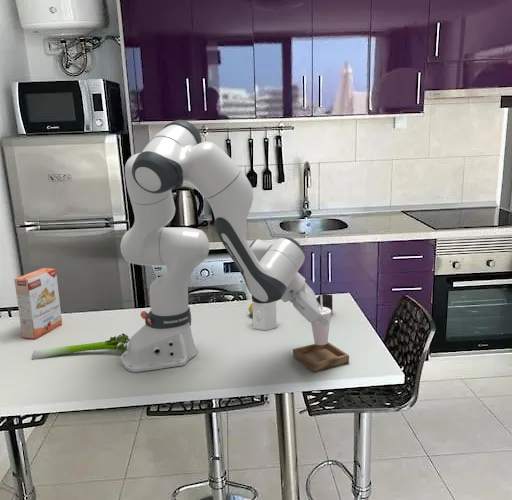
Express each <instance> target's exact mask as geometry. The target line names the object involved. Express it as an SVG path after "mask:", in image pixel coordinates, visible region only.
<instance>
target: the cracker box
mask: <svg viewBox="0 0 512 500" xmlns="http://www.w3.org/2000/svg"><path fill="white" fill-rule="evenodd" d="M13 281H14V286H15V293H16V300H17V308H18V314H19V315H18V316H19V323H20V329H21V336H22V338H23V339H31V340H36V339H38V338H40V337H42V336H44V335H46V334H48V333H50V332H51V331H53V330H55V329H56V327H57V328H58V326H59V327H60V326H62V325H63V320H62V312H61V310H62V309H61V302H60V301H61V300H60V294H59V285H58V276H57V269H56V268H51V267H50V268H49V267H42V268H39V269H37V270H35V271H32V272H29V273H26V274H23V275H20V276H19V277H16V278H14V280H13ZM54 328H55V329H54ZM45 333H46V334H45ZM43 334H44V335H43Z"/></svg>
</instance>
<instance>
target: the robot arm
mask: <svg viewBox="0 0 512 500" xmlns="http://www.w3.org/2000/svg"><path fill="white" fill-rule="evenodd" d="M124 176H125V177H124V178H125V185H126V189H127V193H128V196H129V200H130V204H131V207H132V212H133V215H134V217H133V218H134V222H133V224H132V227H131V228H130V229H128V230H127V231H126V232H125V233H124V234H123V236H122V237H121V241H120V246H119V247H120V253H121V256H122V258H123V259H124V260H125V261H126V262H127V263H128V264H129V263H130V264H133V265H138V266H145V267H147V266H166V269H167V271H166V273H165V274H163V275H161V276H159V277H157V278H156V279H154V280H153V281H152V282H151V284H150V286H149V288H148V289H149V290H148V291H149V303H150V310H149V312H148V313H147V311H146V310H143V311H141V313H140V317H141V318H142V319H143V320H144V323H145V324H144V325H143V326H142V327H141V328H139V330H137V332H135V333H134V334H133V335H131V336H130V337H129V340H130V341H129V342H128V344H127V346H128V347H127V350H126V351H124V353H121V357H120V362H121V364H122V366H123V368H125V370H127V371H129V372H132V373H140V372H148V371H153V370H154V371H155V370H159V369H166V368H168V369H169V368H174V367H175V368H176V367H180V366H185V365H187V363H188V362H189V360H191V359H192V358H194V357H195V356H196V355H197V353H198V349H197V347H196V344H195V340H194V336H193V333H192V327H191V325H192V313H191V308H190V307H189V281H190V279H191V276H192V274H193V272H194V271H195V269H196V268H197V267H198V266H199V265H200V264H201V263H203V262H204V261H205V260H206V258H207V257H208V255H209V252H210V241H209V238H208V236H207V234H206V233H205V231H203V230H202V229H198V228H193V227H187V226H185V227H184V226H183V227H180V226H179V227H166V226H167V225H168V224H169V223H170V222H171V221H172V220H173V219H174V216H175V214H176V204H175V201H174V196H173V193H172V190H176V189H180V188H181V187H182V186H183V184H184V182H185V181H186V182H189V183H191V184H193V185H194V186H195V187H196V188H197V190H198V191H199V192H200V194H202V196H203V197H204V198H205V199H206V201H207V202H208V204H209V205H210V208H211V211H212V213H213V217H214V229H215V232H216V234H217V236H218V237H219V239H220V241H221V243H222V245H223V247H224V248H225V250H226V251H227V253H228V255H229V256H230V258H231V260H232V262H233V263H234V265H235V267H236V268H237V270H238V271H239V273H240V274H241V276H242V278H243V280H244V283H245V285H246V287H247V290H248V292H249V294H250V295H251V297H252V296H253V297H255V298H256V299H257V300H259V301H261V302H264V303H269V302H275V301H276V302H277V301H278V302H279V301H280V300H281V301H282V302H283V303H287V302H290V303H291V304H292V306H293V307H294V309H296V311H297V312H298V313H299V314H300V315H301V316H302V317H304V318H305V319H306V320H307V321H308V322H309V323H310V324H311V323H314V322H315V321H316V320H317V321H319V322H320V323H322V324H323V325H324V326H326V325H327V324H328V323H329V320H328V319H327V318H326V317H325V316H323V315H322V314H321V313H320V310H319V307H321V305H320V304H319V303H318V302H317V300H316V298H317V297H316V293H315V292H314V290H313V289H312V288H311V287H310V285H309V284H308V283H307V282H306V278H305V277H304V276H303V275H302V274H301V273H299V270H300V268H301V267H302V265H303V264H304V262H305V260H306V253H305V249H304V248H303V247H302V245H301V244H300V243H299V242H298V241H297V240H296V239H294V238H292V237H288V236H287V237H286V236H281V237H278V238H277V239H275V240H269V241H264V240H262V239H260V238H259V239H258V238H257V239H254V240H253V241H252V242H251V244H249V243H248V241H247V239H246V224H247V219H248V217H249V213H250V210H251V208H252V205H253V199H254V191H253V190H254V189H253V186H252V184H251V182H250V181H249V178H248V177H247V176H246V175H245V173H244V171H242V170H241V168H240V167H239V166H238V165H237V163H235V160H233V159H232V158H231V157H230V156H229V154H227V153H226V152H225V150H223V149H222V148H221V147H220V146H218V145H217V144H216V143H214V142H211V141H202V136H201V133H200V132H199V130H198V128H197V127H196V126H195V125H194V124H193V123H191V122H189V121H188V120H185V119H184V120H183V119H176V120H173V121H171V122H168V124H166V125H165V126H163V128H162V129H161V130H160V131H158V132H157V133H156V134H154V136H153V137H152V138H151V139H150V140H149V142H148V143H147V144H146V145H145V147H144V148H143V150H142V151H141V152H138V153H135V154H133V155H131V156H129V157H128V159H127V161H126V163H125V166H124ZM329 324H330V323H329Z"/></svg>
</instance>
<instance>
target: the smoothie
mask: <svg viewBox="0 0 512 500" xmlns="http://www.w3.org/2000/svg"><path fill="white" fill-rule="evenodd" d="M319 295H320V294H319ZM320 300H321V307H319V310H320V313H321V314H322V315H323V316H325V317H326V318H327V319H328V320H329V323H328V324H327V325H326V326H324V325H323V324H322V323H320V322H319V321H317V320H316V321H315V322H314V323H311V322H310V324H311V331H312V336H313V342H314V344H317V345H325V344H327V343H328V342H329V331H330V322H331V315H332V314H331V309H329V308H327V307H323V300H322V295H320Z"/></svg>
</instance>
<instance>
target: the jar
mask: <svg viewBox="0 0 512 500" xmlns="http://www.w3.org/2000/svg"><path fill="white" fill-rule="evenodd" d="M251 304H252V308H253V315H252V326H253V329H254V330H260V331H269V330H273V329H276V328H277V301H275V302H269V303H264V302H261V301H259V300H257V299H256V298H255V297H253V296H252V295H251Z"/></svg>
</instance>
